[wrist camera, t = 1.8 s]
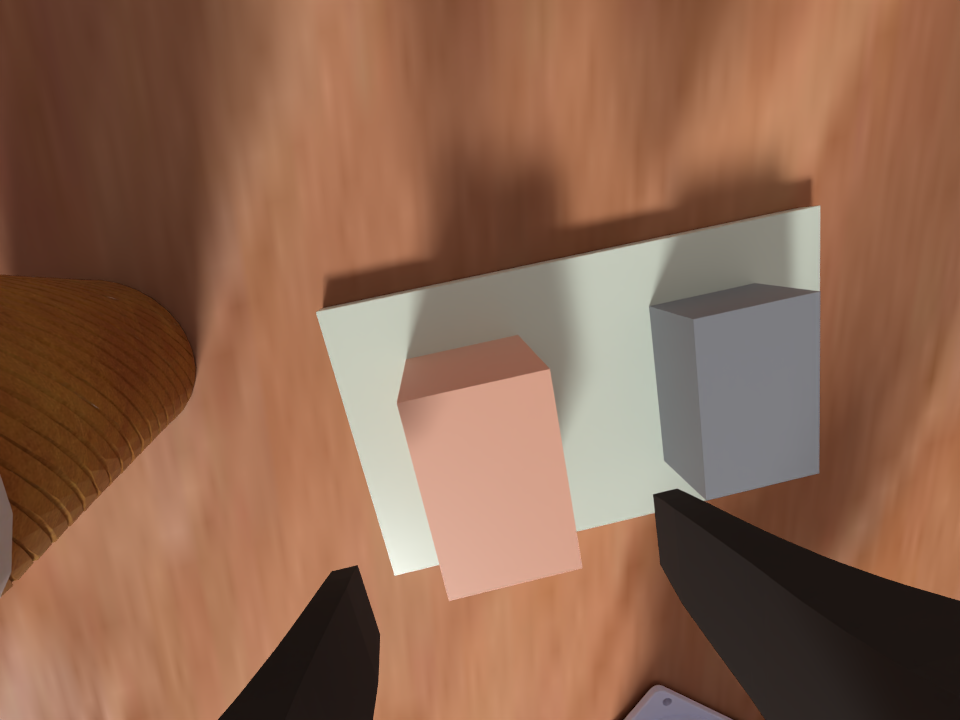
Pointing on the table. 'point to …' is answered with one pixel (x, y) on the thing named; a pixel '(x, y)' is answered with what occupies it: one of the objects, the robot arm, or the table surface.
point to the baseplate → (555, 358)
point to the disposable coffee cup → (77, 400)
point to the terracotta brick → (489, 465)
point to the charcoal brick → (739, 386)
